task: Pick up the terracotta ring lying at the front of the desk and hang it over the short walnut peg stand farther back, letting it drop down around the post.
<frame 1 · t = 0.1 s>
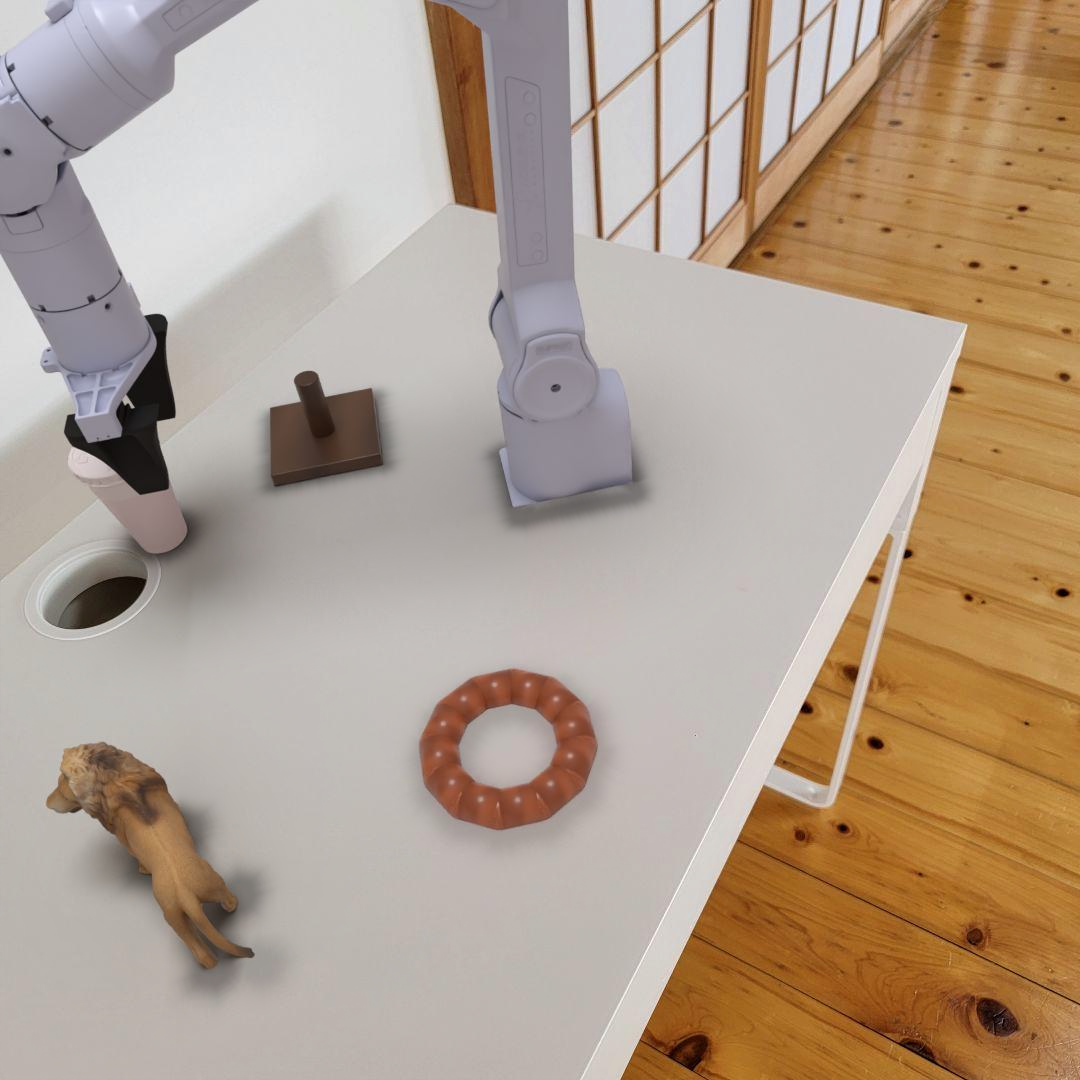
hand: (158, 452, 70), 10 cm above the table, tool pointing down, fingers open, 7 cm apart
smoothie: (165, 537, 79), on the table, touching gripper
lion figurine: (183, 886, 59), on the table
peg stand: (326, 440, 85), on the table
ring: (507, 745, 62), point 1 cm above the table
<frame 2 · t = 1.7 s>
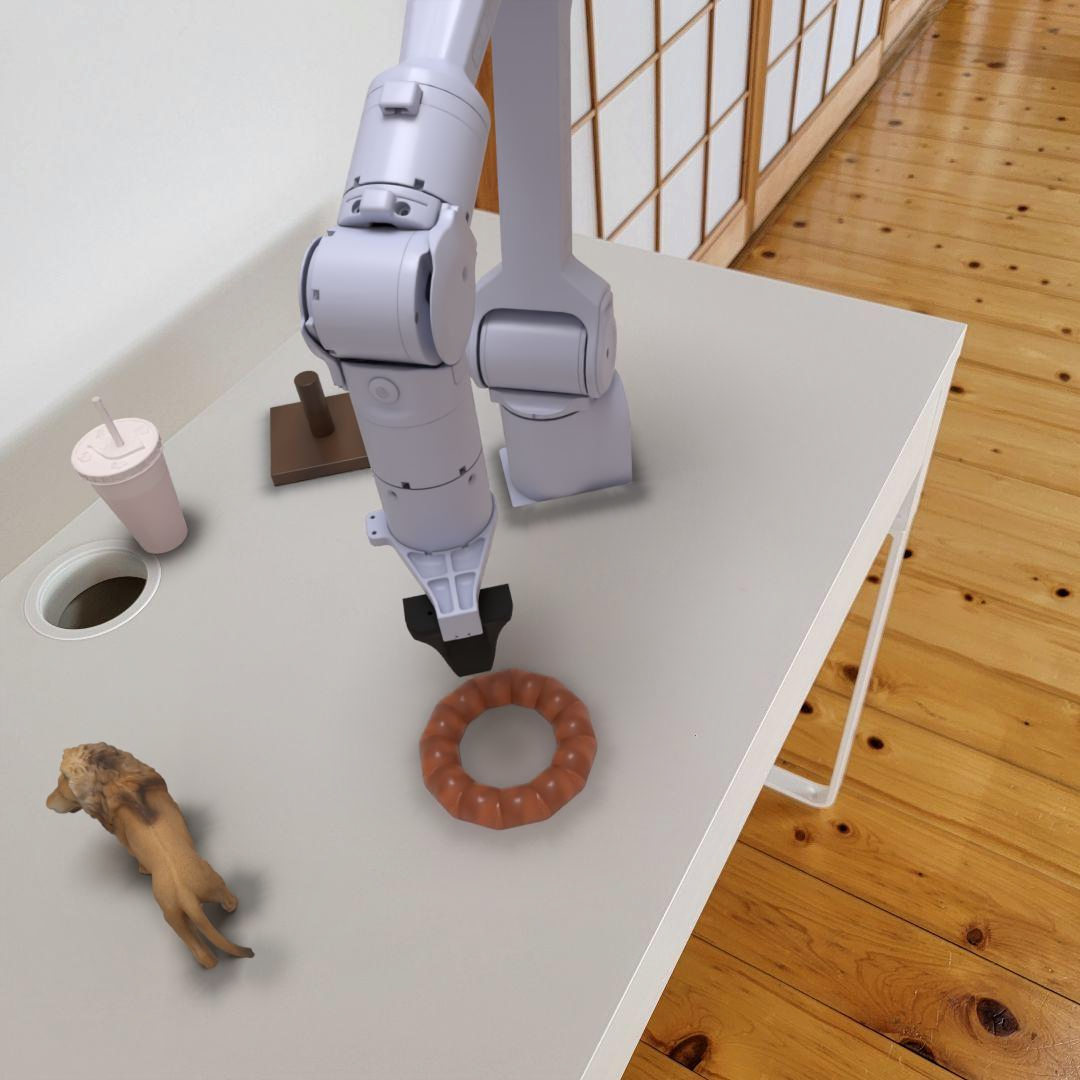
hand: (465, 618, 60), 8 cm above the table, tool pointing down, fingers open, 7 cm apart
smoothie: (165, 538, 79), on the table
everything else where it was.
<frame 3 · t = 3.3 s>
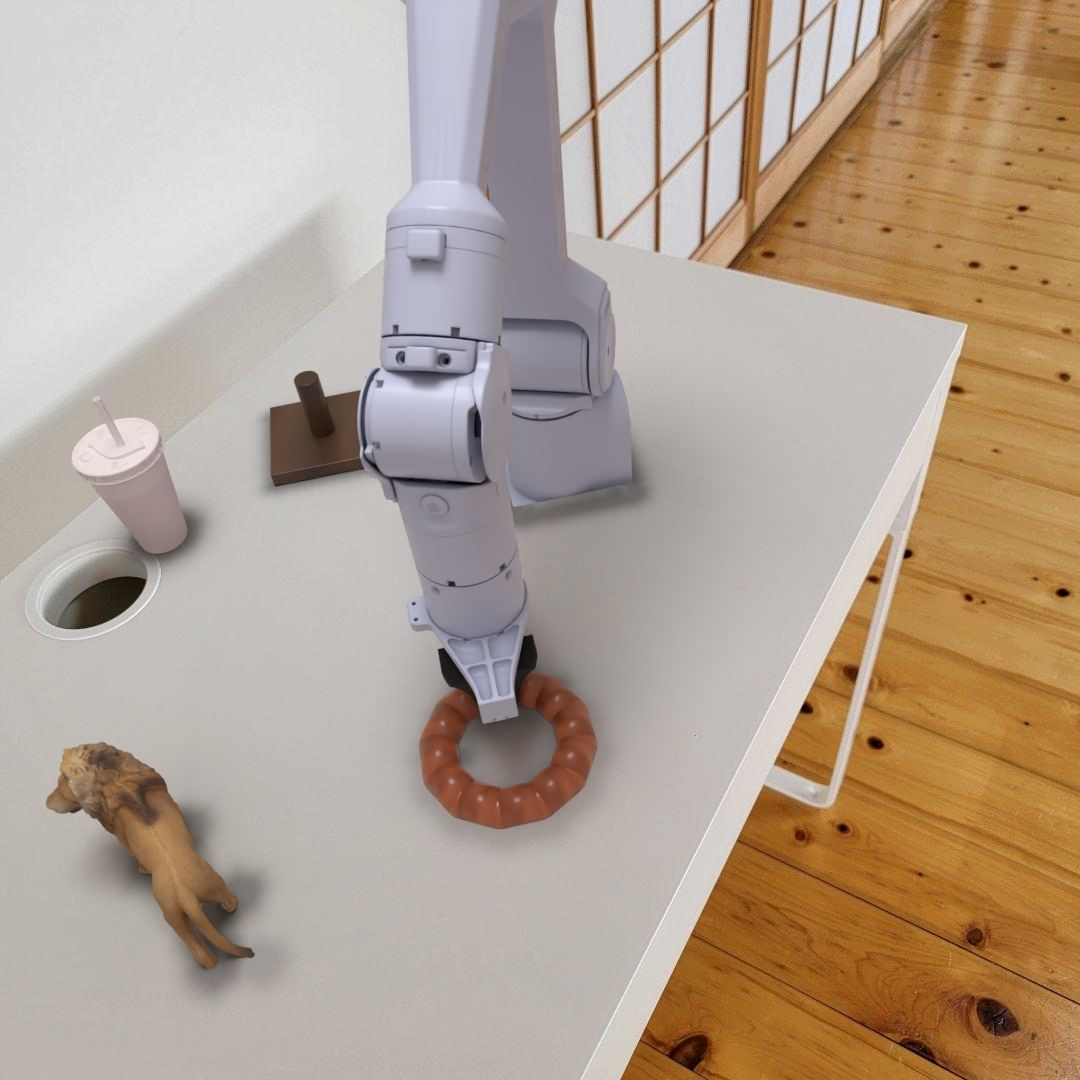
hand: (496, 688, 64), 1 cm above the table, tool pointing down, fingers closed on ring, 2 cm apart
ring: (507, 745, 62), point 1 cm above the table, touching gripper
everything else where it was.
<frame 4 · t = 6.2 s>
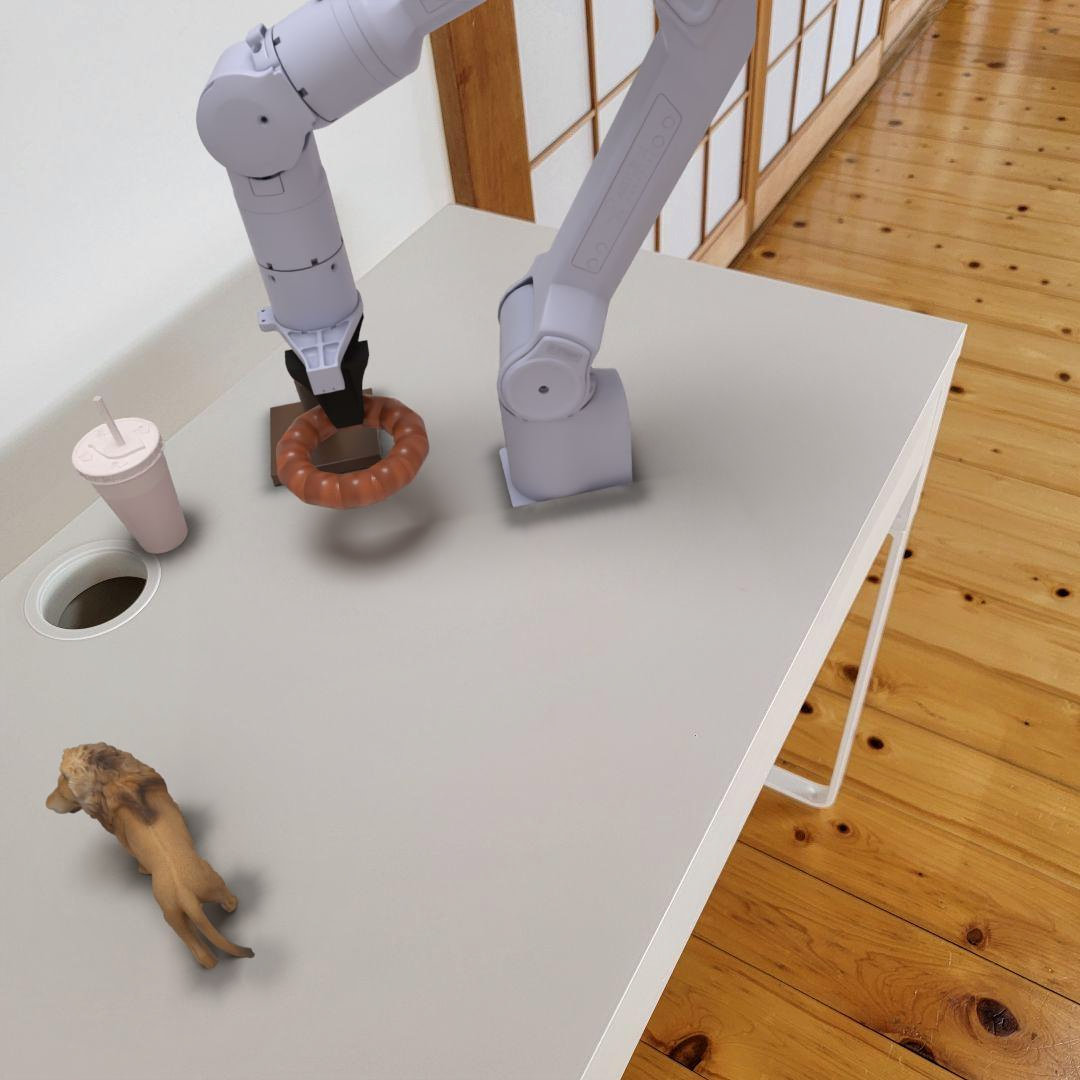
hand: (348, 410, 74), 8 cm above the table, tool pointing down, fingers closed on ring, 2 cm apart
ring: (352, 449, 71), point 8 cm above the table, touching gripper
everything else where it was.
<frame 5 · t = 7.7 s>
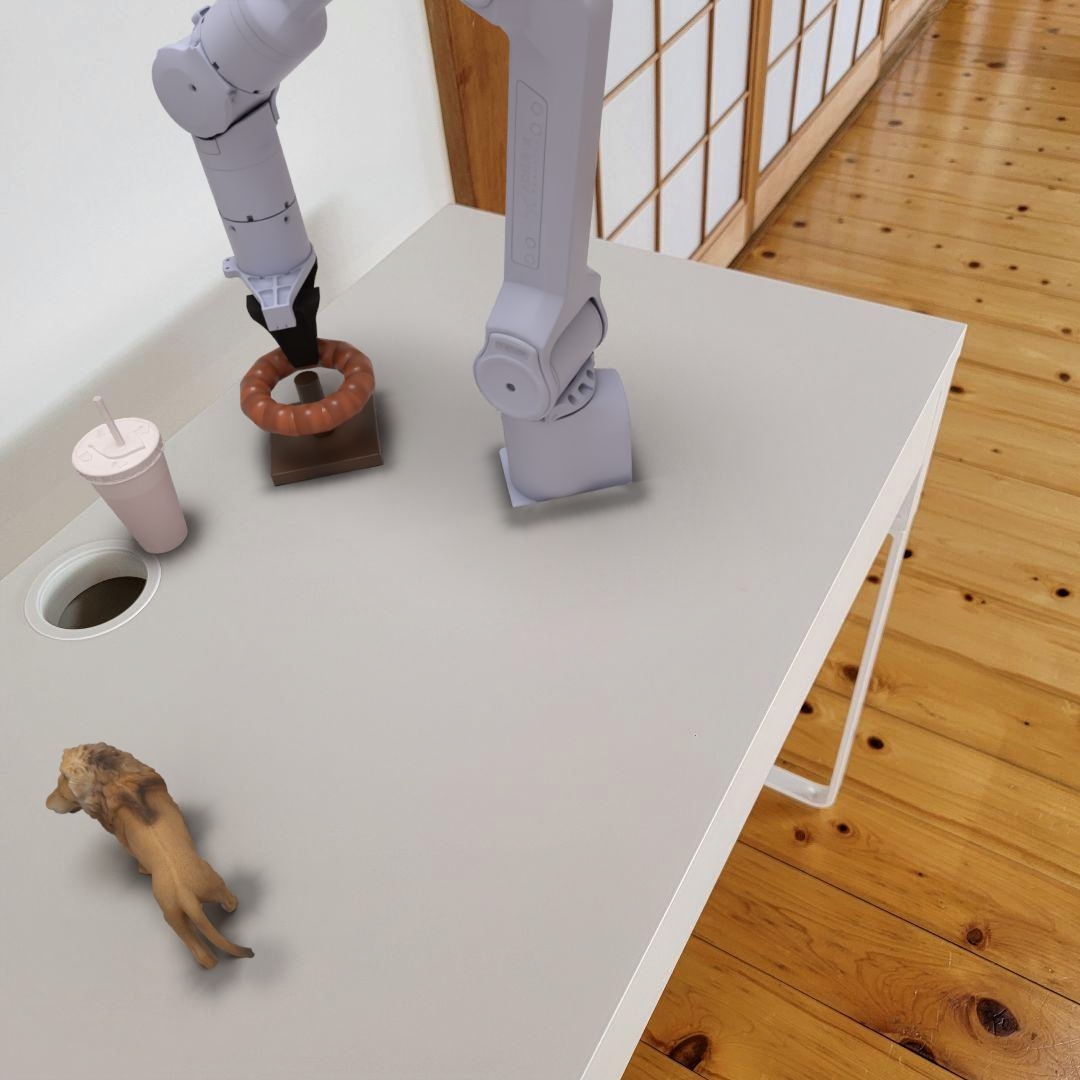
hand: (305, 352, 83), 6 cm above the table, tool pointing down, fingers closed on ring, 2 cm apart
ring: (307, 385, 81), point 6 cm above the table, touching gripper
everything else where it was.
when the fingers open (3 cm above the table, at t = 9.1 s): ring stays where it is, resting on peg stand.
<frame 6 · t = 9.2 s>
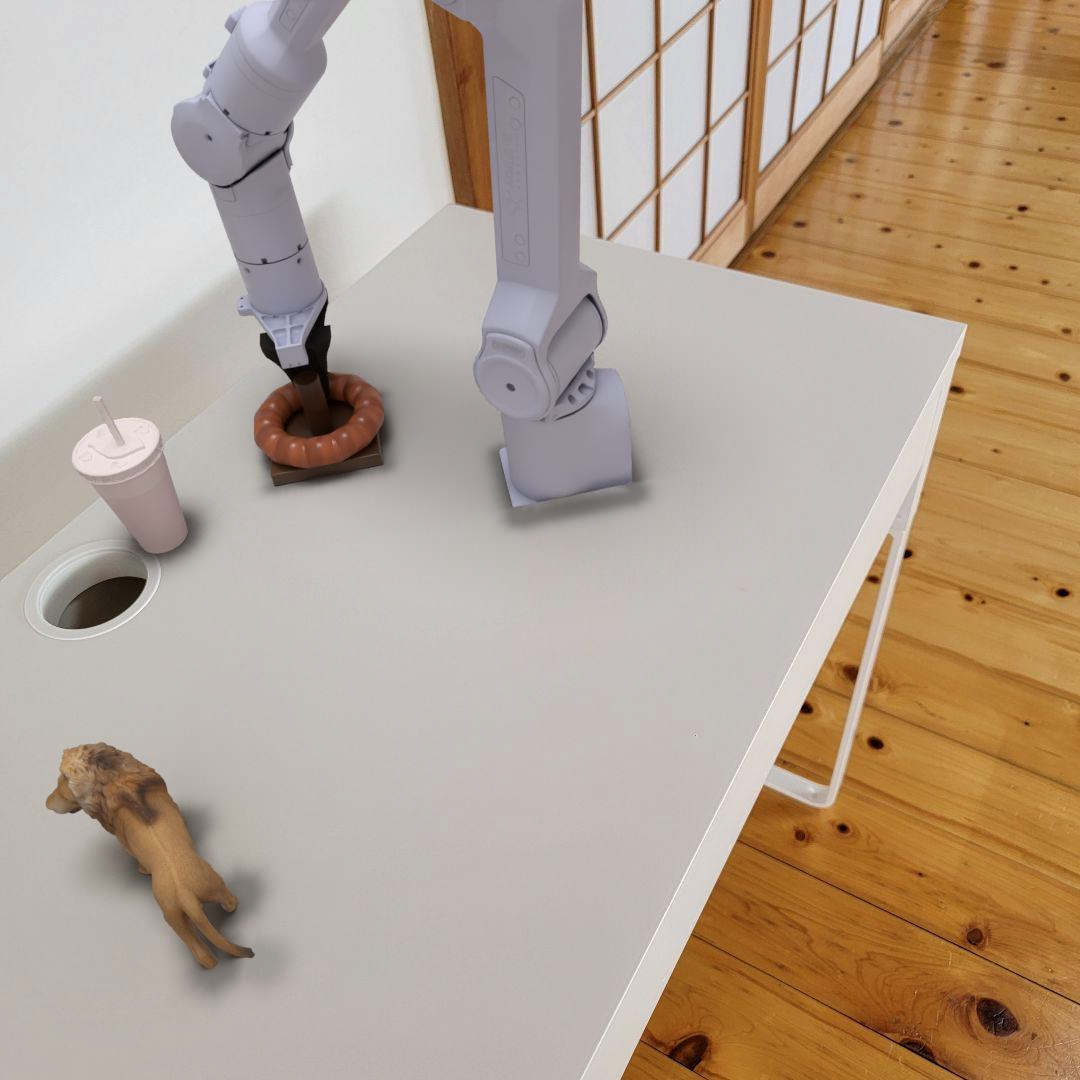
hand: (316, 385, 86), 3 cm above the table, tool pointing down, fingers open, 3 cm apart
ring: (318, 418, 83), point 2 cm above the table, touching peg stand
everything else where it was.
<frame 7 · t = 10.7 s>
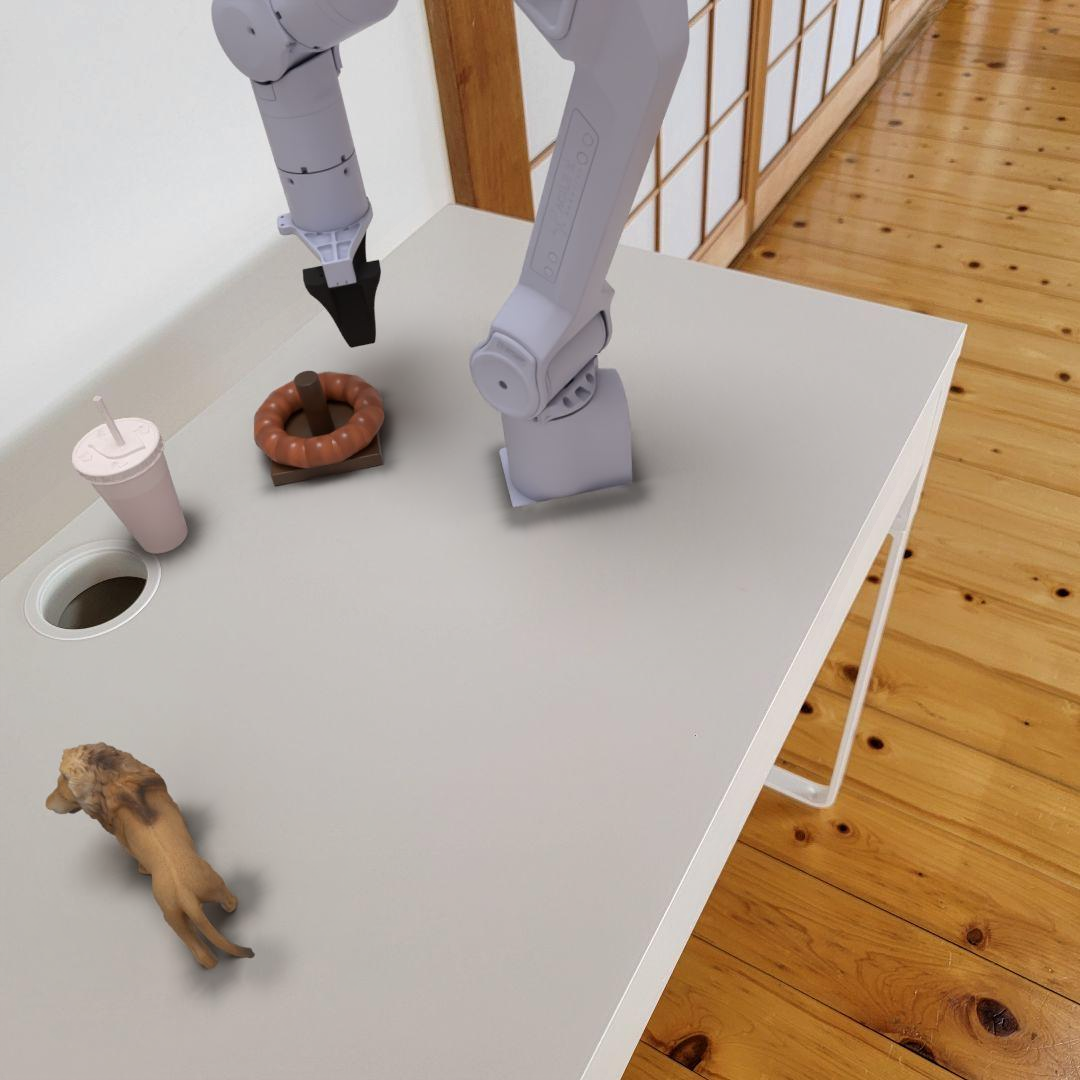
hand: (358, 316, 81), 9 cm above the table, tool pointing down, fingers open, 7 cm apart
nothing on the table moved.
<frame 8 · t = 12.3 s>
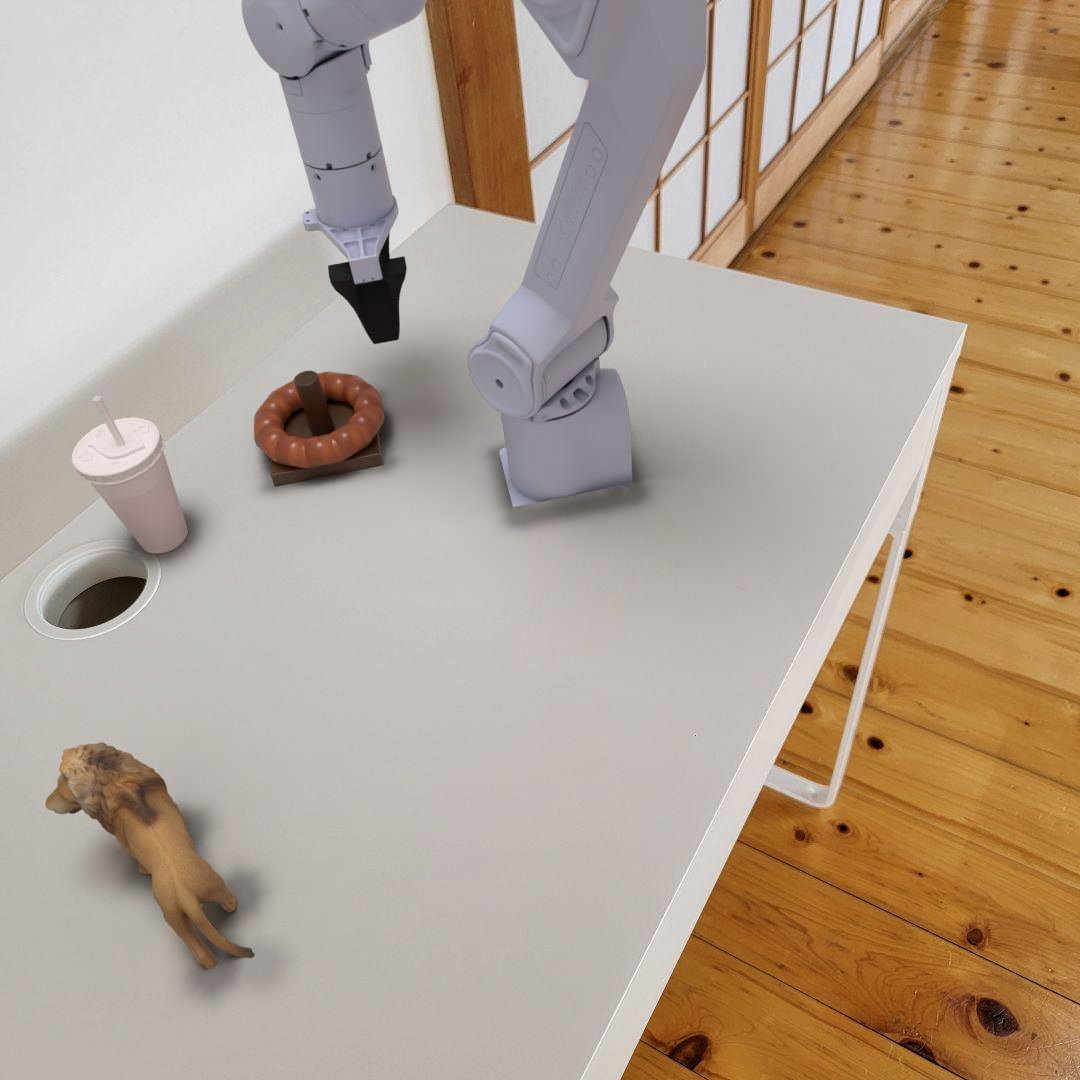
hand: (381, 312, 81), 9 cm above the table, tool pointing down, fingers open, 7 cm apart
nothing on the table moved.
at the end: ring 0.1 cm off-centre on the peg stand, point 2.4 cm above the peg stand's base; the gripper is holding nothing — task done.
